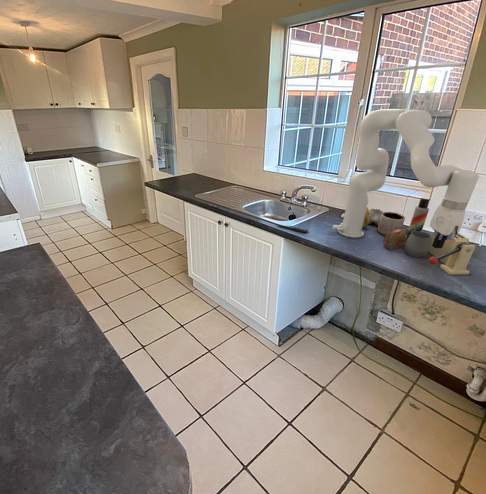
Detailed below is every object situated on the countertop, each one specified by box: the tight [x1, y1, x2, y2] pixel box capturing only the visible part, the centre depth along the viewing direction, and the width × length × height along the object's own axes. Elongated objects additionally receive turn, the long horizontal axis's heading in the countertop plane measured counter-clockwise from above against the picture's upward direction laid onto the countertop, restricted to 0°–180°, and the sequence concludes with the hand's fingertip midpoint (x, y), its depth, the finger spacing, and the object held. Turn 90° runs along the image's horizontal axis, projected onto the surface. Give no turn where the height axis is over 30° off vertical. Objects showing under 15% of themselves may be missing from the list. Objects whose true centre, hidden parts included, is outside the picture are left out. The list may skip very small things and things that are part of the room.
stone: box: [362, 206, 370, 228], centre depth 165 cm, size 13×10×10 cm
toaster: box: [427, 230, 470, 265], centre depth 134 cm, size 6×12×12 cm, turn 1°
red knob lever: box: [428, 242, 470, 265], centre depth 123 cm, size 15×3×3 cm, turn 90°
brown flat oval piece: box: [383, 228, 409, 251], centre depth 145 cm, size 15×3×8 cm, turn 117°
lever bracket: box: [439, 240, 477, 275], centre depth 124 cm, size 8×6×13 cm
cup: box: [404, 231, 432, 258], centre depth 137 cm, size 10×9×10 cm
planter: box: [377, 211, 406, 236], centre depth 159 cm, size 11×11×10 cm
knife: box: [276, 225, 308, 234], centre depth 165 cm, size 17×1×3 cm
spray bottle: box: [407, 197, 431, 237], centre depth 153 cm, size 6×6×20 cm
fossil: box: [368, 208, 384, 226], centre depth 174 cm, size 18×11×15 cm
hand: (436, 247), depth 122 cm, fingers closed
